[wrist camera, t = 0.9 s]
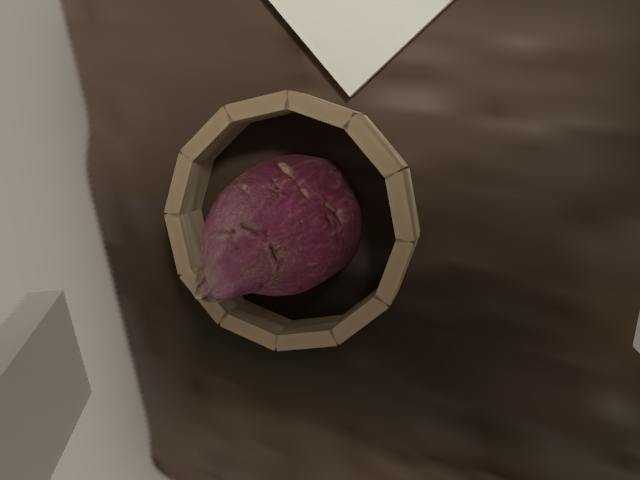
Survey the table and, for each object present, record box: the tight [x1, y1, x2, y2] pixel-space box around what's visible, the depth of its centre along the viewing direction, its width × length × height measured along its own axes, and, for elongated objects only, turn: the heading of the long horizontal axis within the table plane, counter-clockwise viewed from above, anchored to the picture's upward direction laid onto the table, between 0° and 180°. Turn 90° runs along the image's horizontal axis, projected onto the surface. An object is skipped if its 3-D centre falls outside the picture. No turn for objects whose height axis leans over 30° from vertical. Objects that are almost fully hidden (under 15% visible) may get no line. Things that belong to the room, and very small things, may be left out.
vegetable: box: [193, 154, 362, 302], centre depth 37 cm, size 10×10×15 cm
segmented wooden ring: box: [164, 90, 420, 351], centre depth 41 cm, size 18×18×4 cm
